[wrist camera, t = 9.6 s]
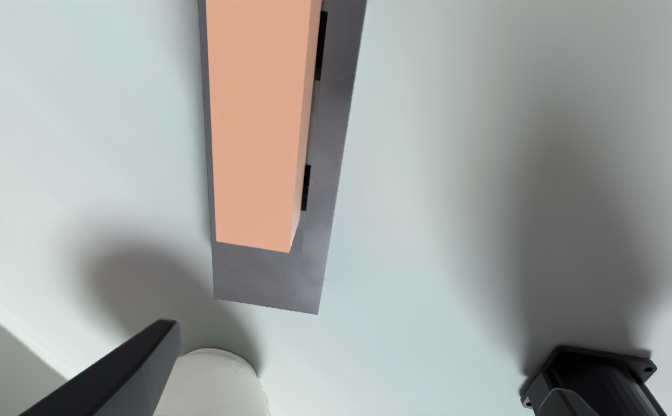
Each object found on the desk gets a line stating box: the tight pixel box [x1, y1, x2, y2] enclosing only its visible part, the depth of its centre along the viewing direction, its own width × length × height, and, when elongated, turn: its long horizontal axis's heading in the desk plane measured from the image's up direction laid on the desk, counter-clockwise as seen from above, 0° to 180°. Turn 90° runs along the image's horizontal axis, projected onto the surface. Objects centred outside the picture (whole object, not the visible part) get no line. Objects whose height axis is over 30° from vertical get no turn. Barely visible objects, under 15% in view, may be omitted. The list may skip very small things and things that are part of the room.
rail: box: [198, 0, 367, 315], centre depth 16 cm, size 6×22×2 cm, turn 173°
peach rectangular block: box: [206, 0, 322, 253], centre depth 15 cm, size 3×9×6 cm, turn 173°
